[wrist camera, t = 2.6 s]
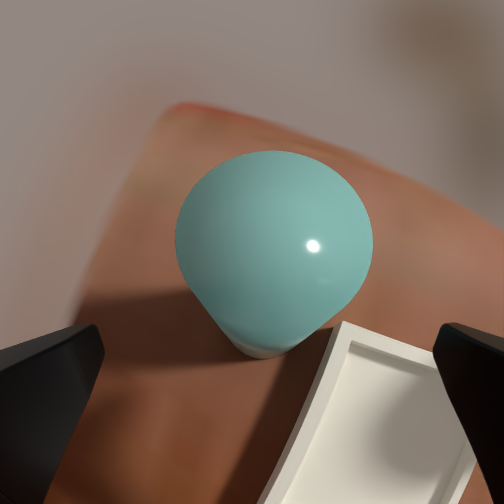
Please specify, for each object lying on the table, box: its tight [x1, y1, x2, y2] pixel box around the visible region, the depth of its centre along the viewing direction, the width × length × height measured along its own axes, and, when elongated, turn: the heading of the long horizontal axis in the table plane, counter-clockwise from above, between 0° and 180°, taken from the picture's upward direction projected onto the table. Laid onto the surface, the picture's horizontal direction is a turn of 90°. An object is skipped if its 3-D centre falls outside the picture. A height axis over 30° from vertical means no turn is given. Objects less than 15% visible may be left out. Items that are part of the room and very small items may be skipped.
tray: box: [256, 321, 477, 504], centre depth 15 cm, size 12×12×2 cm
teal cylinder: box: [175, 151, 373, 359], centre depth 13 cm, size 5×5×12 cm
